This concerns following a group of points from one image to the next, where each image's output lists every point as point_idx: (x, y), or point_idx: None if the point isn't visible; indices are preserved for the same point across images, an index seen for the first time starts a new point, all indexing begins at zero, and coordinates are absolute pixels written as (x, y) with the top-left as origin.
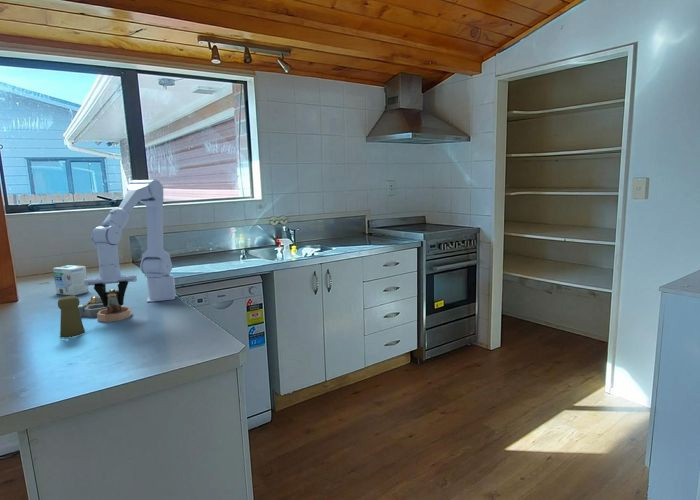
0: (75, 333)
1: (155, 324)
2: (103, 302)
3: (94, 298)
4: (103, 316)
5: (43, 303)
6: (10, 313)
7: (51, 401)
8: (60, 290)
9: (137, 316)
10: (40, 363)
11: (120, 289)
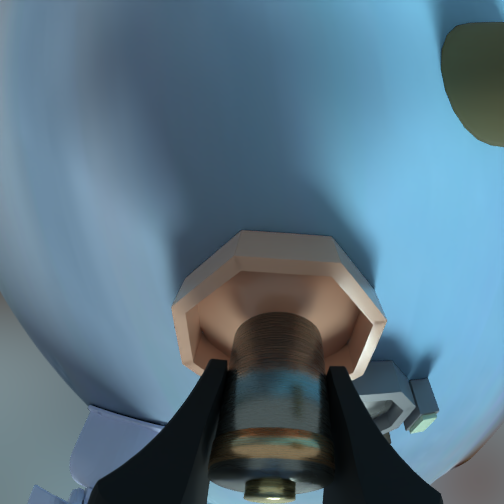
0: (477, 23)
1: (33, 58)
2: (352, 394)
3: None
4: (350, 271)
5: (434, 463)
6: (500, 421)
7: None
8: None
9: (144, 269)
10: None
11: (164, 479)
